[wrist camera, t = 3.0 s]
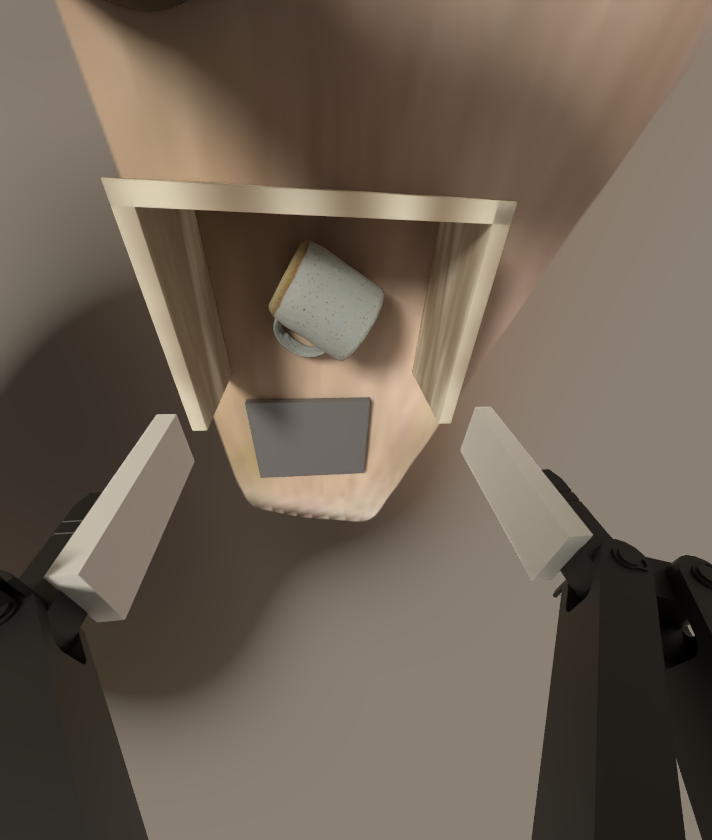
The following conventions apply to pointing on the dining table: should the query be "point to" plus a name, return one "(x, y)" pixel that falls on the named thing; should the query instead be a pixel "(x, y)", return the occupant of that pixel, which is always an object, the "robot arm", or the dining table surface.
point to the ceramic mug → (324, 304)
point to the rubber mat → (309, 435)
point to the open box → (181, 242)
